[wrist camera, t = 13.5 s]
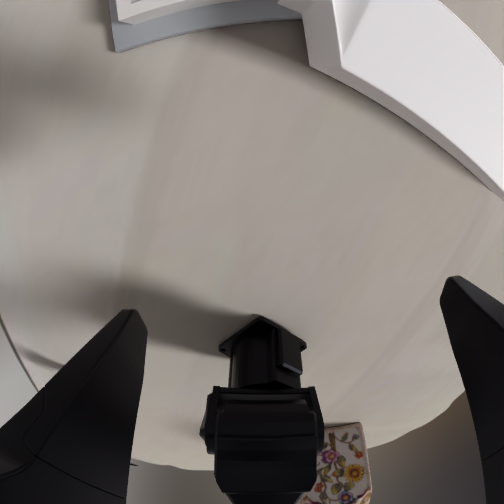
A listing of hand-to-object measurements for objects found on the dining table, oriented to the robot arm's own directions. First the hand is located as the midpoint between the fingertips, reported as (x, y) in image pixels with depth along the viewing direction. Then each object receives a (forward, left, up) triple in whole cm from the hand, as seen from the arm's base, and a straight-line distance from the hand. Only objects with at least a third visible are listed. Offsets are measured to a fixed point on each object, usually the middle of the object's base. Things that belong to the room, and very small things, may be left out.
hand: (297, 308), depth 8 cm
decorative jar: (-28, -42, -13) cm, 52 cm away
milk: (+15, -14, -10) cm, 23 cm away
